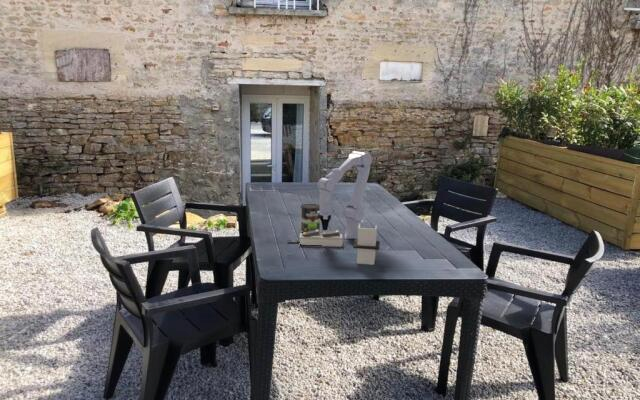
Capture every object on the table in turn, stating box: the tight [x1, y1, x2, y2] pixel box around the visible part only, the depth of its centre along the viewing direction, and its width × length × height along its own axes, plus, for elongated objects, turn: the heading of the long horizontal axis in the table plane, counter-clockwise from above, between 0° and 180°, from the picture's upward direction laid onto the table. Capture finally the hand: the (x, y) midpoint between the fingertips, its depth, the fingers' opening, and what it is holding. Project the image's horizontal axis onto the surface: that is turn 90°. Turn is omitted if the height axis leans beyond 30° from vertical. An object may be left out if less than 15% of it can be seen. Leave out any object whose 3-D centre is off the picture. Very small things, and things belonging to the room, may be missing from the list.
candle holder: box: [352, 224, 381, 265], centre depth 205 cm, size 25×24×16 cm
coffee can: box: [300, 203, 321, 232], centre depth 249 cm, size 10×10×14 cm
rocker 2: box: [322, 229, 340, 237], centre depth 230 cm, size 8×4×2 cm, turn 90°
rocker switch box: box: [287, 232, 343, 248], centre depth 231 cm, size 27×9×4 cm, turn 90°
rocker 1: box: [303, 229, 321, 237], centre depth 230 cm, size 8×4×2 cm, turn 90°
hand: (325, 229), depth 230 cm, fingers closed
